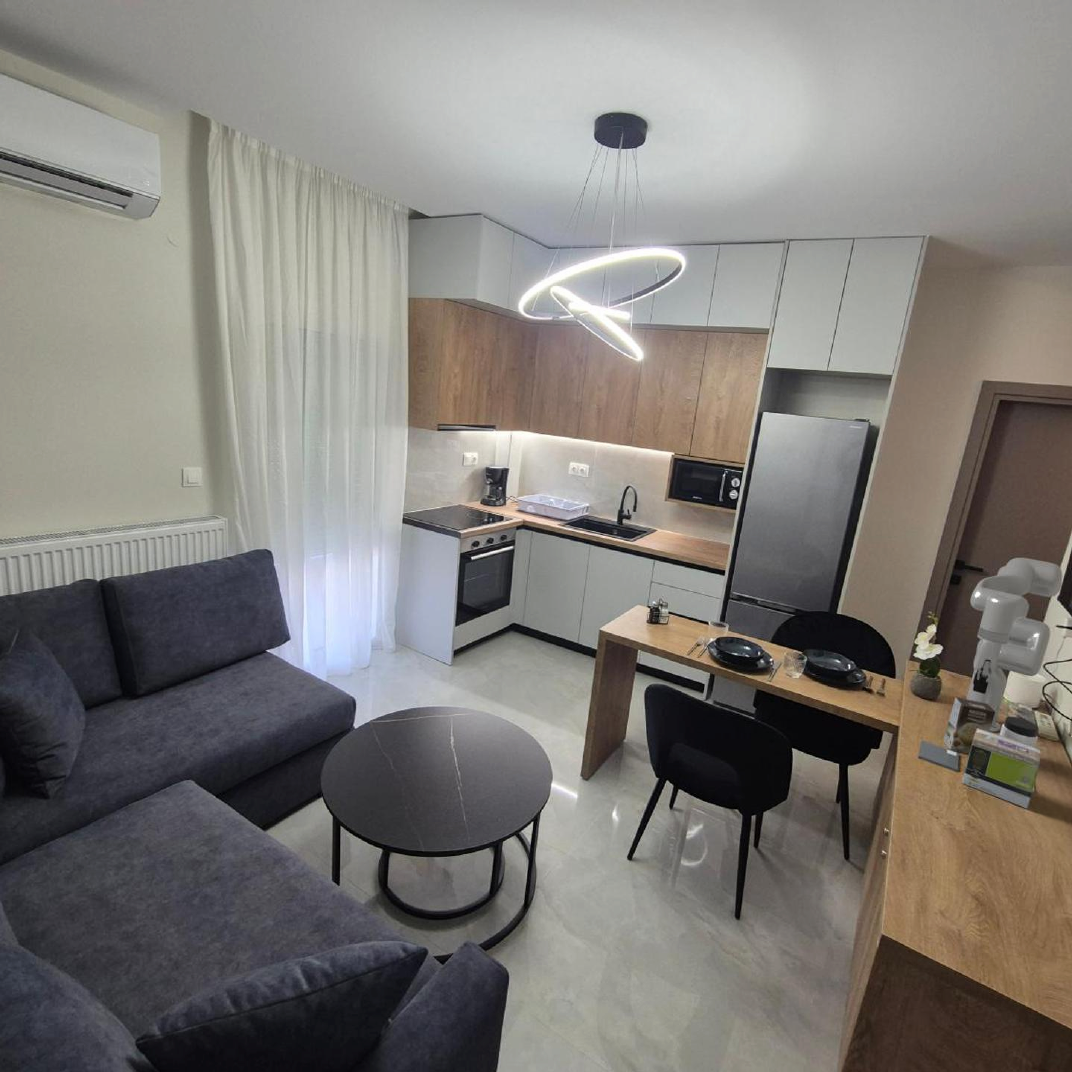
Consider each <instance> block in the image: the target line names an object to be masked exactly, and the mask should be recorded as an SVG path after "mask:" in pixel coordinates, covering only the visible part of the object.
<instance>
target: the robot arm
mask: <svg viewBox="0 0 1072 1072" xmlns="http://www.w3.org/2000/svg"><path fill="white" fill-rule="evenodd" d="M1062 581H1063V571H1062V569H1061V567H1060V566H1059V565H1058V564H1057V563H1052V562H1048V561H1043V560H1039V559H1032V558H1028V557H1015V558H1012V559H1010V560H1009V561H1008V562H1007V563H1006V565H1003V566H1001V567H1000V568H999V569H998V571H997V574H996V575H993V576H990V577H989V576H988V577H985V578H983V579H982V580H980V581H979V582H978V583H977V585H976V586H975V588H974V589H973V592H971V593H972V594H971V596H970V601H969V602H970V605H971V607H972V608H974V610H976V611H977V610H978V611H981V612H983V613H982V617H981V620H980V624H979V628H978V632H977V635H976V637H977V638H978V639H979V641H978V642H977V646H976V652H975V656H974V659H973V674H972V676H971V677H972V678H971V681H970V684H969V688H968V692H967V695H966V699H968V700H972V701H977V702H981V703H986V704H988V705H989V706H990V707H991V708H992V709H993V710H994V711H995V715H994V718H993V722H992V725H991V729H990V732H991V733H994V732H995V733H996V732H998V731H999V732H1000V731H1001V728H1002V725H1001V724H1000V723H999V722H998V721H997V720H998V717H999V712H1000V709H1001V706H1002V703H1003V699H1004V695H1005V691H1006V688H1007V684H1008V680H1007V677H1006V675H1005V673H1004V671H1003V670H1006V671H1009V672H1013V673H1016V674H1018V675H1019V674H1020V675H1023V676H1027V677H1033V676H1036V675H1037V674H1038V673H1040V670H1041V668H1042V665H1043V661H1044V657H1045V655H1046V651H1047V648H1048V645H1049V642H1050V637H1051V630H1050V627H1049V625H1048V624H1047V623H1045V622H1042V621H1040V620H1035V619H1032V618H1027V615H1028V611H1029V609H1030V604H1029V603H1028V600H1027V598H1025V597H1024V595H1026V594H1028V593H1029V594H1032V595H1037V596H1041V597H1046V598H1047V597H1048V598H1052V597H1056V596H1057V595H1058V594H1059V592H1060V591H1061V588H1062Z"/></svg>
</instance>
